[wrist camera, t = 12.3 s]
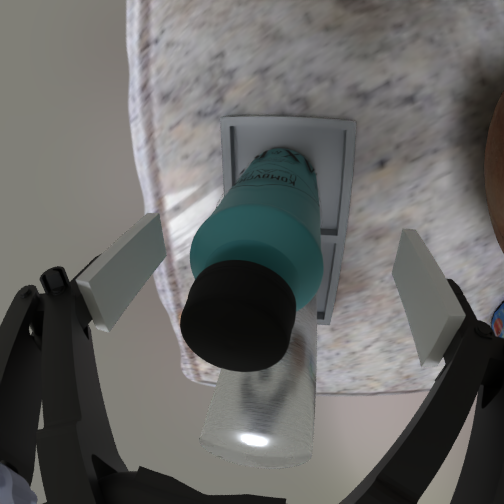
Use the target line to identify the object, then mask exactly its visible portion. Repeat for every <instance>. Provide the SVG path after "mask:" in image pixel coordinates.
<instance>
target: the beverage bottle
mask: <svg viewBox="0 0 504 504" xmlns="http://www.w3.org/2000/svg"><path fill="white" fill-rule="evenodd" d="M269 149H270V148H269ZM258 154H260V153H258ZM305 157H306V156H305ZM305 157H303V155H302V153H301V154H299V153H297V152H295V151H294V150H293V151H292V150H291V149H290V150H289V149H286V148H285V147H284V149H283V148H277V149H275V147H274V148H272V149H271V150H268V151H265V152H262V154H260V155H256V157H254V158H255V159H254V160H253V161H252V162H251V164H250V165H249V167H248V168H247V169H246V170H245V169H244V170H245V172H244V170H243V171H242V172H241V173H240V174H242V173H243V172H244V173H243V174H242V175H241V177H240V178H239V177H238V178H239V179H237V182H236V183H234V185H233V186H232V188H231V189H229V192H228V193H227V194H226V196H225V197H224V198H223V199H222V201H221V203H220V204H219V206H218V207H217V206H216V209H215V211H214V212H213V213H212V215H211V216H210V217H209V218H208V219H207V220H206V221H205V222H204V223H203V224H202V225H201V227H200V228H199V229H198V231H197V233H196V234H195V236H194V239H193V241H192V244H191V249H190V264H191V269H192V273H193V276H194V278H195V281H194V283H193V285H192V287H191V289H190V291H189V295H188V299H187V302H186V304H185V307H184V309H183V312H182V315H181V320H180V328H181V333H182V336H183V338H184V340H185V342H186V343H187V345H188V346H189V347H190V349H191V350H192V351H193V352H194V353H195V354H197V355H198V356H199V357H200V358H202V359H203V360H205V361H206V362H208V363H210V364H212V365H214V366H217V367H220V368H222V369H226V370H230V371H236V372H255V371H260V370H264V369H267V368H269V367H272V366H273V365H275V364H276V363H278V362H279V361H280V360H281V359H282V358H283V357H284V355H285V353H286V351H287V350H288V347H289V343H290V338H291V333H292V329H293V327H294V324H295V319H296V312H297V311H298V310H300V309H302V308H303V307H304V306H305V305H307V304H308V303H309V302H310V301H311V300H312V298H313V297H314V296H315V294H316V293H317V291H318V289H319V287H320V285H321V282H322V278H323V273H324V262H323V255H322V251H321V232H320V229H321V228H320V210H321V209H320V208H322V207H320V208H319V201H320V198H321V197H320V198H319V197H318V192H319V191H320V190H319V188H320V187H319V188H318V187H317V178H316V175H318V174H317V172H316V171H314V170H315V169H313V166H312V165H311V164H310V163H309V160H307V159H306V158H305ZM310 162H311V161H310ZM249 163H250V162H249ZM249 163H248V164H249ZM315 172H316V174H315ZM240 174H239V175H240ZM317 177H318V176H317ZM226 192H227V191H226ZM224 193H225V192H224ZM319 194H320V193H319ZM319 196H321V195H319ZM220 198H221V197H220ZM321 211H322V210H321ZM321 214H322V213H321ZM321 218H322V217H321ZM322 223H323V222H322Z"/></svg>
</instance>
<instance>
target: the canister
mask: <svg viewBox="0 0 504 504" xmlns="http://www.w3.org/2000/svg"><path fill="white" fill-rule="evenodd" d="M316 371H317V293H316V294H315V296H314V297H313V298H312V300H311V301H310V302H309V303H308V304H307V305H305V306H304V307H303V308H302V309H300V310H298V311H297V312H296V319H295V324H294V327H293V329H292V333H291V338H290V343H289V347H288V350H287V351H286V353H285V355H284V357H283V358H282V359H281V360H280V361H279V362H278V363H276V364H275V365H273V366H272V367H269V368H267V369H264V370H260V371H255V372H236V371H230V370H226V369H221V372H220V375H219V378H218V381H217V385H216V388H215V391H214V394H213V398H212V401H211V404H210V407H209V410H208V413H207V416H206V420H205V423H204V426H203V429H202V432H201V435H200V438H199V442H200V444H201V446H202V447H203V448H204V449H205V450H207V451H208V452H210V453H211V454H213V455H215V456H217V457H219V458H221V459H223V460H226V461H229V462H232V463H236V464H240V465H244V466H249V467H256V468H266V469H267V468H268V469H280V468H290V467H295V466H299V465H301V464H304V463H306V462H308V461H309V460H310V459H311V457H312V448H313V434H314V419H315V418H314V417H315V398H316Z"/></svg>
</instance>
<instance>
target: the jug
mask: <svg viewBox="0 0 504 504" xmlns="http://www.w3.org/2000/svg"><path fill="white" fill-rule="evenodd" d="M484 177H485V191H486V198H487V204H488V210H489V214H490V218H491V222H492V225H493V229H494V232H495V235H496V238H497V241H498V243H499V245H500V247H501V249H502V251H503V253H504V91H503V92H502V94H501V96H500V99H499V101H498V103H497V105H496V107H495V110H494V113H493V116H492V119H491V122H490V127H489V131H488V137H487V143H486V149H485V160H484Z"/></svg>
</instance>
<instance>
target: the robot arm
mask: <svg viewBox="0 0 504 504" xmlns="http://www.w3.org/2000/svg"><path fill="white" fill-rule="evenodd" d="M166 256H167V255H166V250H165V244H164V239H163V233H162V227H161V221H160V215H159V213H147V214H146V215H145V216H144V217H142V218H141V219H140V220H139V221H138V222H137V223H135V224H134V225H133V226H132V227H131V228H130V229H129V230H128V231H126V232H125V233H124V234H123V235H122V236H121V237H120V238H119V239H117V240H116V241H115V242H114V243H113V244H112V245H111V246H110V247H109V248H108V249H107V250H106V251H104V252H103V253H102V254H100V255H99V256H97V257H95V258H94V259H93V260H92V261H91V262H90V263H89V264H88V265H87V266H86V267H85V268H84V269H83V270H82V271H80V273H78V275H77V276H75V277H74V278H73V280H71V282H69V279H68V277H67V274H66V272H65V269H64V268H63V267H59V266H57V267H53V268H51V269H48V270H47V271H45V272H44V273H43V274H42V275H41V277H40V281H41V284H42V286H43V288H44V291H45V293H44V294H39V293H38V290H37V288H36V286H34V285H28V286H25V287H23V288H21V290H19V291H18V293H17V294H16V296H15V297H14V299H13V301H12V303H11V305H10V307H9V309H8V311H7V313H6V315H5V317H4V319H3V322H2V324H1V326H0V504H36V503H37V496H36V494H35V493H34V492H33V491H32V490H31V489H30V486H31V482H32V477H33V472H34V462H35V451H36V445H37V453H38V459H39V466H40V471H41V477H42V482H43V486H44V491H45V495H46V499H47V502H46V503H43V504H286V499H285V498H273V497H265V496H264V497H263V496H257V495H249V494H243V495H206V494H202V493H201V492H199V491H197V490H195V489H193V488H191V487H189V486H187V485H185V484H184V483H182V482H180V481H178V480H176V479H174V478H173V477H170V476H167V475H164V474H161V473H158V472H155V471H152V470H149V469H147V468H144V467H141V466H139V469H138V471H128V469H127V467H126V465H125V464H124V462H123V461H122V459H121V458H120V456H119V454H118V451H117V448H116V445H115V442H114V438H113V435H112V431H111V428H110V425H109V421H108V417H107V413H106V409H105V405H104V401H103V397H102V392H101V388H100V383H99V378H98V373H97V367H96V362H95V356H94V349H93V343H92V336H91V329H90V327H89V325H88V324H89V322H90V321H91V320H93V322H94V324H95V326H96V328H97V329H99V330H103V331H107V332H110V331H111V329H112V328H113V326H114V325H115V324H116V322H117V321H118V319H119V318H120V317H121V315H122V314H123V312H124V311H125V309H126V308H127V307H128V306H129V304H130V303H131V301H132V300H133V299H134V297H135V296H136V295H137V293H138V292H139V291H140V289H141V288H142V287H143V285H144V284H145V283H146V281H147V280H148V279H149V278H150V276H151V275H152V274H153V272H154V271H155V270H156V268H157V267H158V266H159V265H160V263H161V262H162V261H163V260H164V258H165V257H166ZM392 275H393V277H394V280H395V283H396V286H397V288H398V291H399V294H400V297H401V300H402V303H403V306H404V309H405V312H406V315H407V318H408V321H409V325H410V328H411V331H412V335H413V338H414V341H415V345H416V348H417V352H418V356H419V360H420V363H421V367H436V366H438V364H439V363H440V361H441V359H442V358H443V357H444V360H445V363H446V364H445V366H444V367H443V369H442V371H441V372H440V373H439V375H438V376H437V378H436V379H435V383H434V385H433V387H432V388H431V390H430V392H429V393H428V395H427V397H426V398H425V400H424V401H423V403H422V404H421V406H420V408H419V409H418V411H417V412H416V414H415V415H414V417H413V418H412V419H411V421H410V422H409V424H408V425H407V427H406V428H405V430H404V431H403V432H402V434H401V435H400V436H399V438H398V439H397V440H396V442H395V443H394V444H393V445H392V447H391V448H390V449H389V450H388V452H387V453H386V454H385V455H384V457H383V458H382V459H381V460H380V462H379V463H378V464H377V465H376V466H375V467H374V468H373V470H372V471H371V472H370V473H369V474H368V475H367V476H366V477H365V478H364V480H363V481H362V482H361V483H360V484H359V485H358V486H357V487H356V488H355V489H354V490H353V491H352V492H351V493H350V494H349V495H348V496H347V497H346V498H345V499H344V500H342V501H341V502H340V503H339V504H417V502H418V500H419V499H420V497H421V496H422V494H423V493H424V491H425V490H426V488H427V487H428V486H429V484H430V483H431V481H432V479H433V478H434V476H435V475H436V473H437V472H438V470H439V469H440V467H441V465H442V463H443V462H444V460H445V458H446V457H447V455H448V453H449V451H450V450H451V448H452V446H453V444H454V442H455V440H456V439H457V437H458V435H459V433H460V430H461V429H462V427H463V425H464V422H465V420H466V418H467V416H468V414H469V411H470V409H471V407H472V404H473V402H474V400H475V397H476V395H477V392H478V396H477V403H476V410H475V415H474V421H473V426H472V431H471V436H470V440H469V444H468V449H467V453H466V456H465V460H464V464H463V467H462V471H461V474H460V477H459V480H458V483H457V486H456V489H455V492H454V495H453V497H452V500H451V503H450V504H504V338H501V337H497V336H495V333H494V331H493V329H492V328H491V327H490V326H489V325H488V324H487V323H485V322H483V321H480V320H477V318H476V316H475V314H474V312H473V310H472V309H471V307H470V305H469V303H468V301H467V299H466V298H465V296H464V295H463V292H462V291H461V289H460V287H459V286H458V285H457V284H456V283H455V282H454V281H453V280H452V279H446V278H445V276H444V274H443V273H442V271H441V269H440V267H439V266H438V264H437V262H436V261H435V259H434V258H433V256H432V254H431V253H430V251H429V250H428V248H427V246H426V245H425V243H424V242H423V240H422V239H421V237H420V236H419V234H418V233H417V231H416V230H412V229H403V230H402V234H401V239H400V243H399V247H398V251H397V255H396V259H395V263H394V267H393V271H392ZM29 326H30V328H31V329H32V331H33V332H32V334H31V335H30V333H29ZM41 402H42V405H43V418H44V428H43V429H40V430H38V422H39V415H40V408H41Z"/></svg>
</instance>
